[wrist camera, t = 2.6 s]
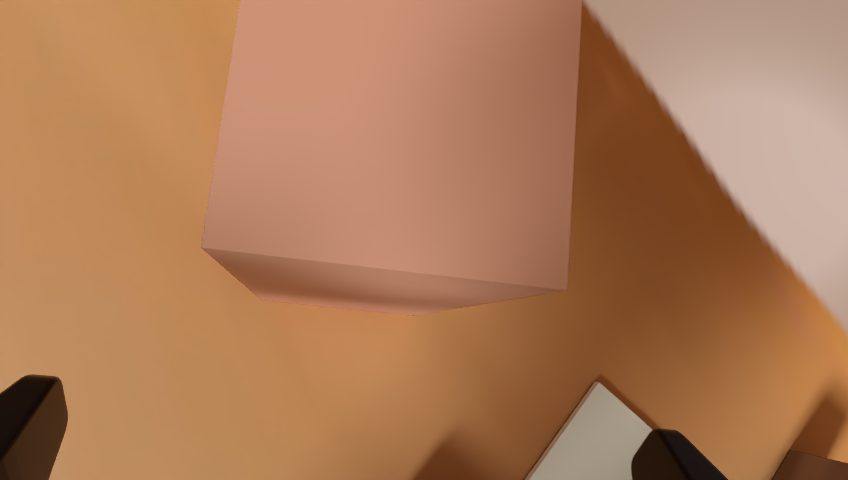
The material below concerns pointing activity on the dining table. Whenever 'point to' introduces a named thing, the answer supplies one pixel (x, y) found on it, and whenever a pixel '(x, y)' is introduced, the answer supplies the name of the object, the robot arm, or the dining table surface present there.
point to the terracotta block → (397, 152)
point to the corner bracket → (634, 446)
